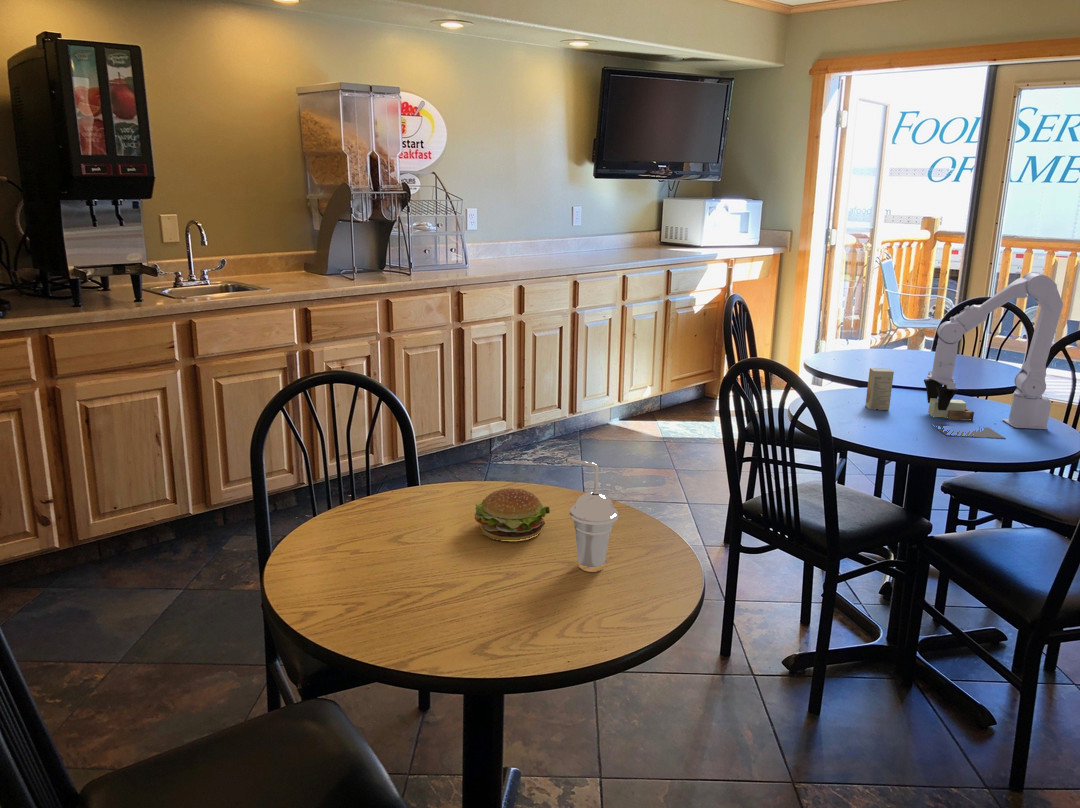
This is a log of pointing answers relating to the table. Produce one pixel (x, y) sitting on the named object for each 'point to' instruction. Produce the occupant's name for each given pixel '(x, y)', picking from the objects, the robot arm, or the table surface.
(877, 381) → the skincare box
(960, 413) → the frame
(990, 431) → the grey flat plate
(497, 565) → the table surface
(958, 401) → the block
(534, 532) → the food
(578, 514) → the cup with straw
